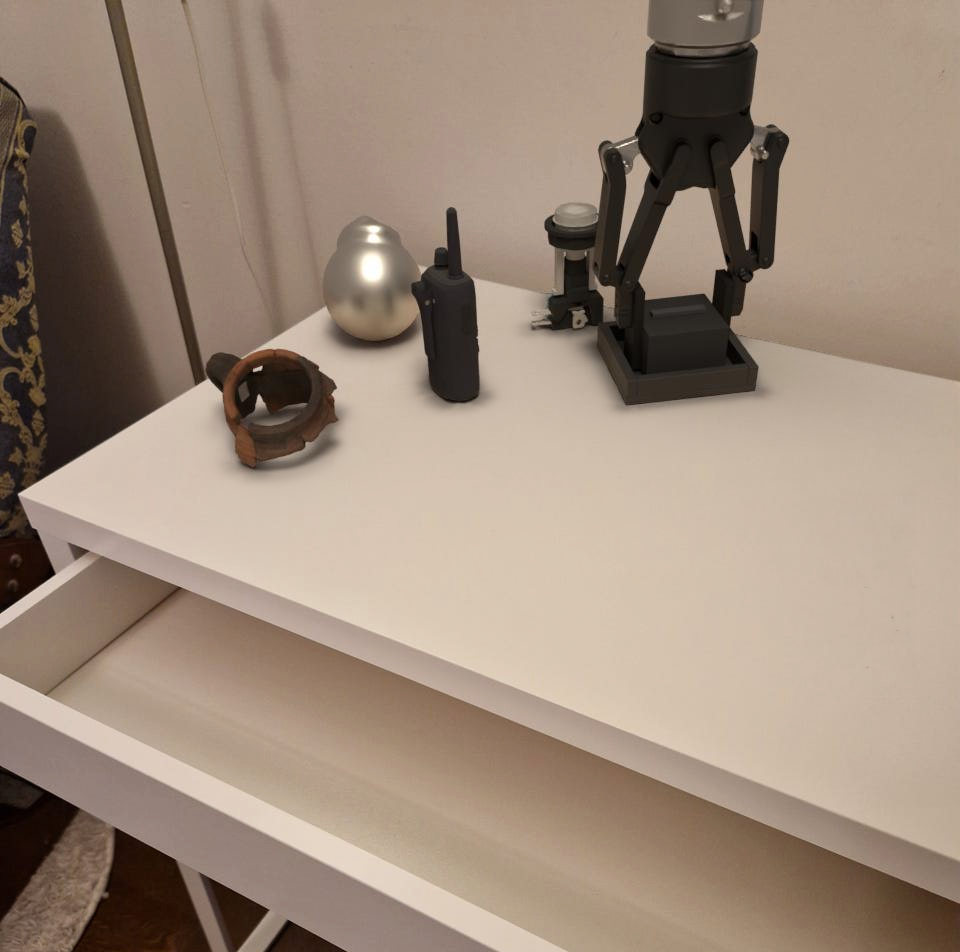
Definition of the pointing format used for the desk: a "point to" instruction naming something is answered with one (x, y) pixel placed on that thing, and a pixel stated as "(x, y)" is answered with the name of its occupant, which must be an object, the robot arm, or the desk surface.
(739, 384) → the base pad
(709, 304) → the top pad
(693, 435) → the desk surface
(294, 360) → the pottery mug
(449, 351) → the two-way radio
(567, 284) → the push button
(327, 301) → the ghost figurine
